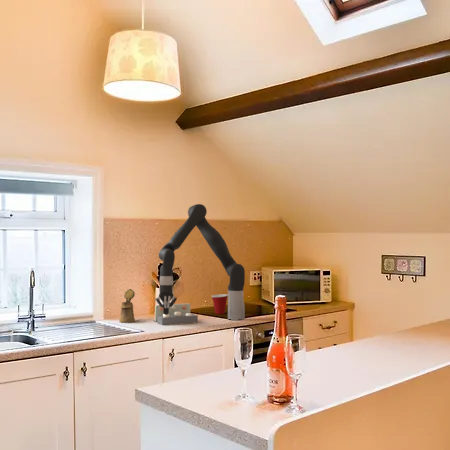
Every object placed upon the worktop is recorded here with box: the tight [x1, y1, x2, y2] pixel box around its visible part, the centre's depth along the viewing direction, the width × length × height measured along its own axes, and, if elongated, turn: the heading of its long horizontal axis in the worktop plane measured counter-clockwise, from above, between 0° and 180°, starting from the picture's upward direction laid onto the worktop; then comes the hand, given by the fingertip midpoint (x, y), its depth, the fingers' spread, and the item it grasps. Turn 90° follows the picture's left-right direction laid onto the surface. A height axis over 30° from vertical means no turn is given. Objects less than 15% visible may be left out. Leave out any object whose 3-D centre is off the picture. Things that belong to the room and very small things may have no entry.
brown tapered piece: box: [119, 288, 136, 324], centre depth 329 cm, size 9×14×18 cm, turn 178°
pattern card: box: [152, 303, 191, 323], centre depth 332 cm, size 22×4×10 cm, turn 116°
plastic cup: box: [211, 293, 228, 315], centre depth 360 cm, size 11×11×12 cm
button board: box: [156, 313, 199, 326], centre depth 324 cm, size 22×8×4 cm, turn 116°
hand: (165, 314), depth 321 cm, fingers closed
